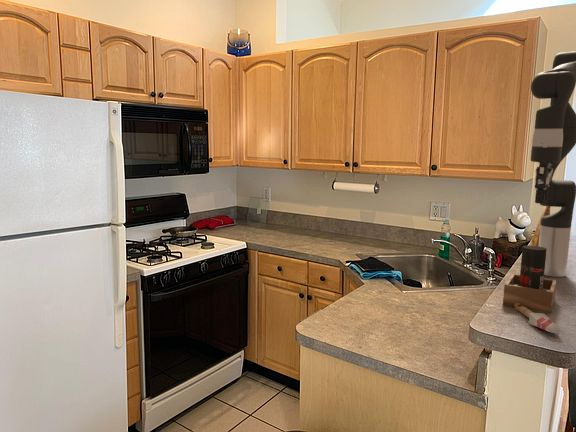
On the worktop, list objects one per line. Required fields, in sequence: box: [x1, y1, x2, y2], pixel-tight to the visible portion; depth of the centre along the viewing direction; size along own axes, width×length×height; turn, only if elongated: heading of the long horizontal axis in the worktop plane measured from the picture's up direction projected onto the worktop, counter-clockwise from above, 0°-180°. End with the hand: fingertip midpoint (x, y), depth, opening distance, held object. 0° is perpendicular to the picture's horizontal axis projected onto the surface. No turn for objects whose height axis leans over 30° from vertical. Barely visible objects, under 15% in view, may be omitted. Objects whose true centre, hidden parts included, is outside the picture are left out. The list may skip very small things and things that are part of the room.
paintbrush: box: [514, 303, 563, 334], centre depth 112 cm, size 4×3×20 cm
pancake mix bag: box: [530, 206, 551, 246], centre depth 179 cm, size 7×19×28 cm, turn 143°
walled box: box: [502, 273, 557, 315], centre depth 126 cm, size 14×12×6 cm
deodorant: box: [519, 245, 547, 290], centre depth 125 cm, size 6×6×15 cm
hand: (541, 201), depth 129 cm, fingers open, 8 cm apart
